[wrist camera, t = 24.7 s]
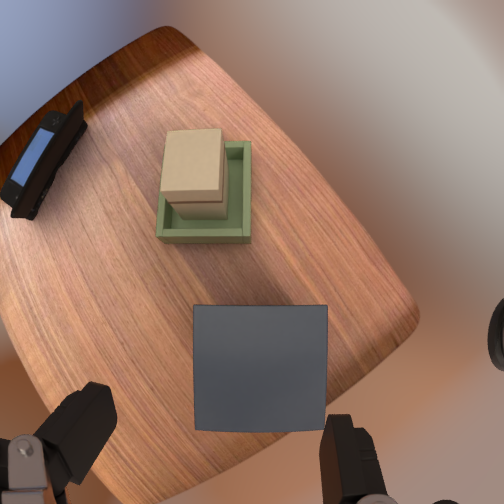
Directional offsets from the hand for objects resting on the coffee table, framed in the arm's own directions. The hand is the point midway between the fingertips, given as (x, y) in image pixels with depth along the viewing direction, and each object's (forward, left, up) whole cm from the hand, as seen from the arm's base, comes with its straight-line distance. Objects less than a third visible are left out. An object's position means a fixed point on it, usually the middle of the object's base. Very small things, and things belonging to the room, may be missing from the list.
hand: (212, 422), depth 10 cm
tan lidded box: (+10, -14, -22) cm, 28 cm away
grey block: (-2, -1, -23) cm, 23 cm away
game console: (+33, -11, -23) cm, 42 cm away
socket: (+9, -14, -23) cm, 28 cm away
